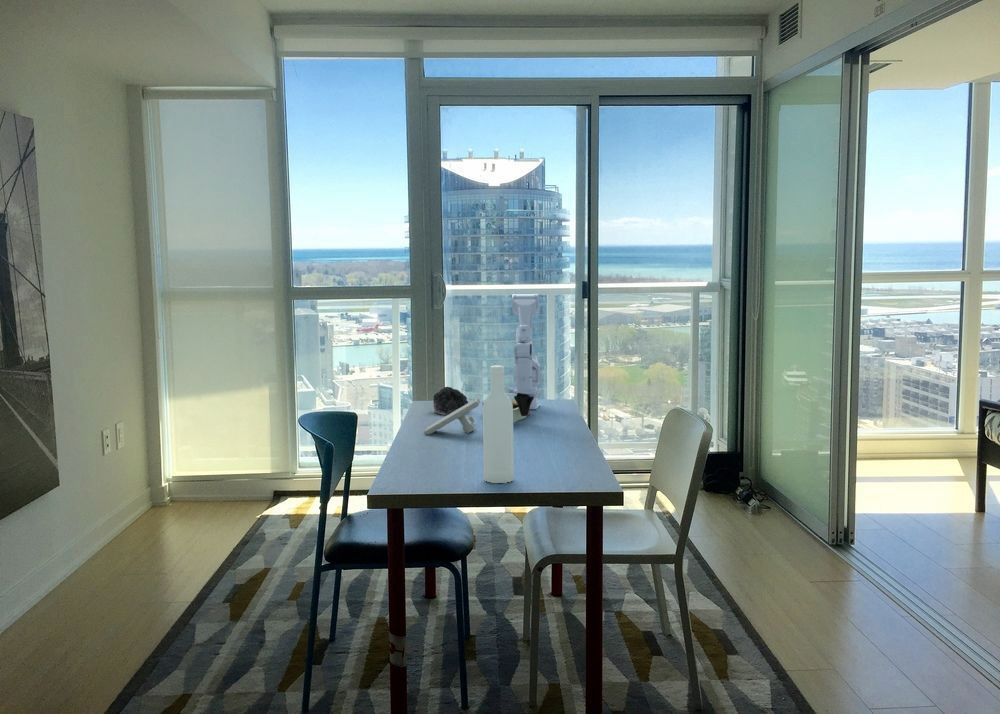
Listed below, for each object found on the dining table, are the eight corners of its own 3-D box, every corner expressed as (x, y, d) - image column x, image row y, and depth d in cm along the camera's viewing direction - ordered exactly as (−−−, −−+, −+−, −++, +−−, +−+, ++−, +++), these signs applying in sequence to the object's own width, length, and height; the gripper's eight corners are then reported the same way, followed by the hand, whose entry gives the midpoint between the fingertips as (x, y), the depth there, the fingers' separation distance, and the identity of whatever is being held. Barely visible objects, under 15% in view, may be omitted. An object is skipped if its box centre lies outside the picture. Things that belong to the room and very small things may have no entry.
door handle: (437, 452, 269) (489, 422, 266) (424, 431, 268) (476, 401, 265) (443, 439, 286) (492, 410, 283) (431, 419, 285) (480, 391, 282)
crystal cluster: (467, 417, 298) (469, 390, 298) (430, 414, 298) (432, 387, 298) (469, 413, 312) (471, 387, 311) (433, 410, 312) (435, 384, 311)
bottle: (520, 480, 212) (518, 366, 209) (495, 486, 208) (493, 369, 204) (502, 474, 219) (500, 363, 215) (477, 479, 214) (475, 366, 211)
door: (501, 425, 278) (501, 413, 278) (524, 416, 291) (524, 405, 291) (506, 425, 277) (506, 413, 277) (529, 417, 290) (529, 405, 290)
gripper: (501, 376, 285) (501, 414, 287) (530, 380, 275) (530, 420, 276) (515, 373, 290) (516, 411, 292) (544, 378, 279) (545, 417, 281)
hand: (524, 415), depth 284 cm, fingers closed
